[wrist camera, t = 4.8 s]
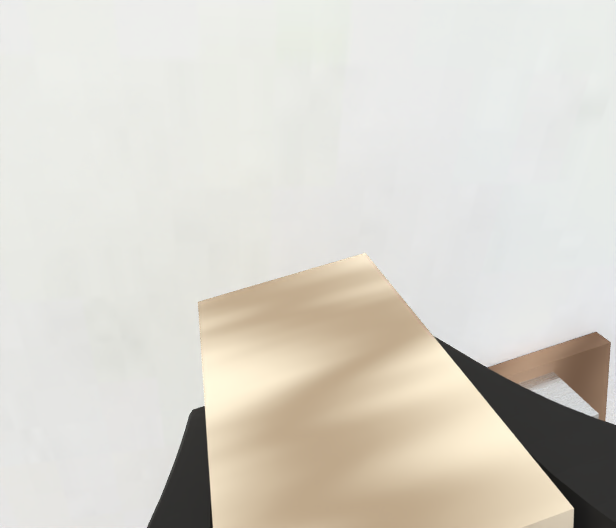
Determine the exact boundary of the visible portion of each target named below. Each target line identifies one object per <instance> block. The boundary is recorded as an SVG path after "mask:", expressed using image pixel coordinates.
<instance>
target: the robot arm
mask: <svg viewBox="0 0 616 528" xmlns="http://www.w3.org/2000/svg"><path fill="white" fill-rule="evenodd" d="M434 338H435V339H436V340H437V341H438V343H439V344H440V345H441V346H442V347H443V349H444V350H445V351H446V352H447V354H448V355H449V356H450V357H451V358H452V360H453V361H454V362H455V363H456V365H457V366H458V367H459V368H460V369H461V371H462V372H463V373H464V374H465V376H466V377H467V378H468V379H469V380H470V382H471V383H472V384H473V385H474V387H475V388H476V389H477V390H478V392H479V393H480V394H481V395H482V396H483V398H484V399H485V400H486V401H487V403H488V404H489V405H490V406H491V407H492V409H493V410H494V411H495V412H496V414H497V415H498V416H499V417H500V418H501V420H502V421H503V422H504V423H505V425H506V426H507V427H508V428H509V429H510V431H511V432H512V433H513V434H514V436H515V437H516V438H517V439H518V440H519V442H520V443H521V444H522V445H523V447H524V448H525V449H526V450H527V451H528V453H529V454H530V455H531V456H532V458H533V459H534V460H535V461H536V463H537V464H538V465H539V466H540V467H541V469H542V470H543V471H544V472H545V474H546V475H547V476H548V477H549V478H550V480H551V481H552V482H553V483H554V485H555V486H556V487H557V488H558V489H559V491H560V492H561V493H562V494H563V496H564V497H565V498H566V499H567V500H568V502H569V503H570V504H571V505H572V507H573V508H574V523H573V528H616V425H614V424H611V423H608V422H605V421H602V420H600V419H597V418H594V417H592V416H589V415H587V414H584V413H582V412H579V411H576V410H574V409H571V408H569V407H566V406H564V405H562V404H559V403H557V402H555V401H552V400H550V399H548V398H546V397H544V396H541V395H539V394H537V393H535V392H533V391H531V390H529V389H527V388H525V387H523V386H521V385H519V384H517V383H515V382H513V381H511V380H509V379H507V378H505V377H503V376H502V375H500V374H498V373H496V372H494V371H492V370H491V369H489V368H487V367H485V366H483V365H482V364H480V363H478V362H476V361H475V360H473V359H471V358H470V357H468V356H466V355H465V354H463V353H461V352H460V351H458V350H456V349H455V348H453V347H451V346H450V345H448V344H446V343H445V342H443V341H441V340H439V339H438V338H436V337H434ZM147 528H213V521H212V506H211V491H210V476H209V461H208V445H207V430H206V415H205V406H203V407H200V408H197V409H194V410H192V412H191V413H190V415H189V418H188V422H187V425H186V429H185V432H184V435H183V438H182V442H181V445H180V448H179V450H178V453H177V456H176V459H175V462H174V464H173V467H172V470H171V472H170V475H169V477H168V480H167V483H166V485H165V488H164V490H163V493H162V495H161V498H160V500H159V502H158V504H157V507H156V509H155V511H154V513H153V515H152V518H151V520H150V522H149V524H148V527H147Z"/></svg>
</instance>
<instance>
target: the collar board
mask: <svg viewBox="0 0 616 528" xmlns="http://www.w3.org/2000/svg"><path fill="white" fill-rule="evenodd" d="M610 345H611V342H609V341H608V340H607V339H605V338H604V337H603V336H601V335H600V334H598V333H597V332H594V333H591V334H588V335H585V336H582V337H579V338H576V339H573V340H570V341H567V342H564V343H561V344H558V345H555V346H552V347H549V348H546V349H542V350H539V351H536V352H533V353H530V354H527V355H524V356H521V357H518V358H515V359H512V360H509V361H506V362H503V363H500V364H497V365H494V366H491V367H488V368H489V369H491V370H492V371H494V372H496V373H498V374H500V375H502V376H503V377H505V378H507V379H509V380H511V381H513V382H515V383H517V384H519V385H521V386H523V387H525V388H527V389H529V390H531V391H533V392H535V393H537V394H539V395H541V396H544V397H546V398H548V399H550V400H552V401H555V402H557V403H559V404H562V405H564V406H566V407H569V408H571V409H574V410H576V411H579V412H582V413H584V414H587V415H589V416H592V417H594V418H597V419H600V420H602V421H605V417H606V402H607V388H608V374H609V360H610Z"/></svg>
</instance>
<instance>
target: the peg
mask: <svg viewBox="0 0 616 528" xmlns="http://www.w3.org/2000/svg"><path fill="white" fill-rule="evenodd" d="M198 309H199V325H200V340H201V355H202V370H203V385H204V400H205V415H206V430H207V445H208V461H209V476H210V491H211V506H212V521H213V528H573V523H574V508H573V507H572V505H571V504H570V503H569V502H568V500H567V499H566V498H565V497H564V496H563V494H562V493H561V492H560V491H559V489H558V488H557V487H556V486H555V485H554V483H553V482H552V481H551V480H550V478H549V477H548V476H547V475H546V474H545V472H544V471H543V470H542V469H541V467H540V466H539V465H538V464H537V463H536V461H535V460H534V459H533V458H532V456H531V455H530V454H529V453H528V451H527V450H526V449H525V448H524V447H523V445H522V444H521V443H520V442H519V440H518V439H517V438H516V437H515V436H514V434H513V433H512V432H511V431H510V429H509V428H508V427H507V426H506V425H505V423H504V422H503V421H502V420H501V418H500V417H499V416H498V415H497V414H496V412H495V411H494V410H493V409H492V407H491V406H490V405H489V404H488V403H487V401H486V400H485V399H484V398H483V396H482V395H481V394H480V393H479V392H478V390H477V389H476V388H475V387H474V385H473V384H472V383H471V382H470V380H469V379H468V378H467V377H466V376H465V374H464V373H463V372H462V371H461V369H460V368H459V367H458V366H457V365H456V363H455V362H454V361H453V360H452V358H451V357H450V356H449V355H448V354H447V352H446V351H445V350H444V349H443V347H442V346H441V345H440V344H439V343H438V341H437V340H436V339H435V338H434V336H433V335H432V334H431V333H430V332H429V330H428V329H427V328H426V327H425V325H424V324H423V323H422V322H421V321H420V319H419V318H418V317H417V316H416V314H415V313H414V312H413V311H412V310H411V308H410V307H409V306H408V305H407V303H406V302H405V301H404V300H403V298H402V297H401V296H400V295H399V294H398V292H397V291H396V290H395V289H394V287H393V286H392V285H391V284H390V283H389V281H388V280H387V279H386V278H385V276H384V275H383V274H382V273H381V272H380V270H379V269H378V268H377V267H376V265H375V264H374V263H373V262H372V261H371V259H370V258H369V257H368V256H367V254H366V253H363V254H360V255H356V256H353V257H350V258H346V259H343V260H339V261H336V262H333V263H329V264H326V265H322V266H319V267H315V268H312V269H309V270H305V271H302V272H298V273H295V274H292V275H288V276H285V277H281V278H278V279H275V280H271V281H268V282H264V283H261V284H258V285H254V286H251V287H247V288H244V289H240V290H237V291H234V292H230V293H227V294H223V295H220V296H217V297H213V298H210V299H206V300H203V301H200V302H198Z"/></svg>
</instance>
